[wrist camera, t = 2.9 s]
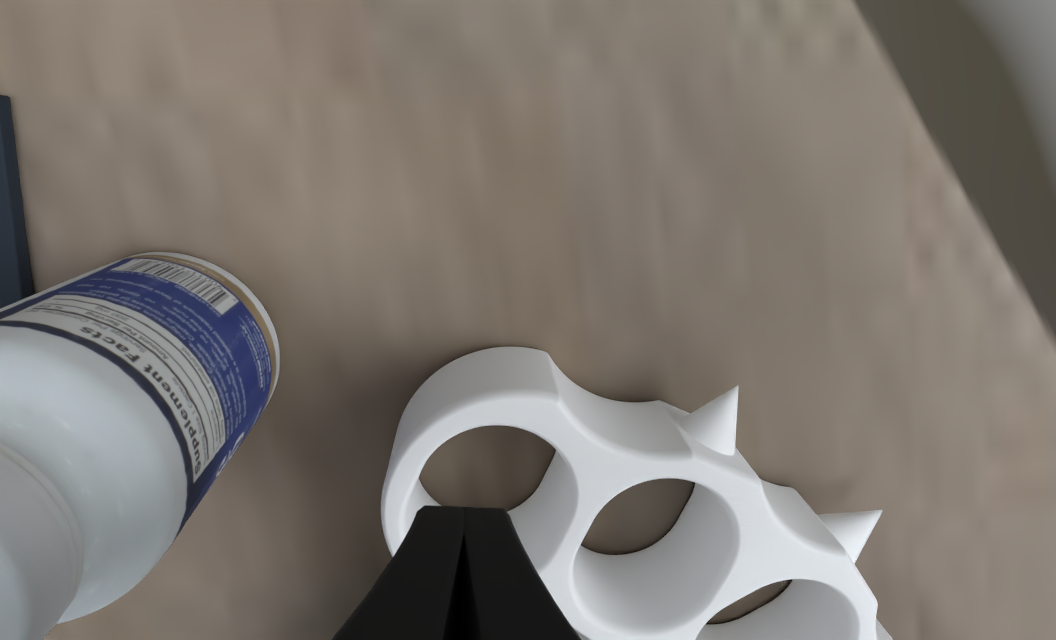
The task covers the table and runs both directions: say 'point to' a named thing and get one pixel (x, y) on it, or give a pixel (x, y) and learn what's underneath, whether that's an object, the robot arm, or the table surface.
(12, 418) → the pill bottle
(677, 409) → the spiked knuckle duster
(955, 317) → the table surface
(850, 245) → the table surface
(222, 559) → the table surface
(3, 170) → the mat
